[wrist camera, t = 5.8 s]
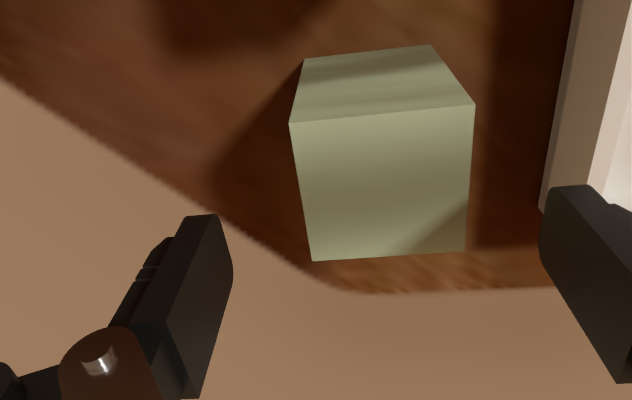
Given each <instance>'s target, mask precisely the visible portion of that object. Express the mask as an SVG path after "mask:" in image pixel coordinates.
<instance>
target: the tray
mask: <svg viewBox="0 0 632 400" xmlns="http://www.w3.org/2000/svg"><path fill="white" fill-rule="evenodd" d="M583 184H588V185H590V186H592V187H593V188H594V189H595V190H596V191H597V192H598V193H599V194H600V195H601V196H602V197H603V198H604V199H605V200H606V201H607V202H608V203H609V204H617V205H619V206H621V207H623V208H625V209H627V210H629V211H631V212H632V0H575V1H574V7H573V13H572V18H571V24H570V29H569V35H568V40H567V46H566V52H565V57H564V63H563V68H562V74H561V79H560V85H559V90H558V96H557V102H556V107H555V113H554V118H553V124H552V129H551V135H550V141H549V146H548V152H547V157H546V163H545V168H544V174H543V180H542V185H541V191H540V196H539V202H538V208H539V209H540V211H541V212H542V213H543V214H544V208H545V203H546V198H547V194H548V191H549V190H550V189H551V188H552V187H559V186H571V185H583Z"/></svg>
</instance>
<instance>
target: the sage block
mask: <svg viewBox="0 0 632 400" xmlns="http://www.w3.org/2000/svg"><path fill="white" fill-rule="evenodd" d="M474 116H475V103H474V102H473V100H472V99H471V98H470V96H469V95H468V94H467V92H466V91H465V90H464V88H463V87H462V86H461V84H460V83H459V82H458V80H457V79H456V78H455V76H454V75H453V74H452V72H451V71H450V70H449V68H448V67H447V66H446V64H445V63H444V62H443V60H442V59H441V58H440V56H439V55H438V54H437V52H436V51H435V50H434V48H433V47H432V46H431V44H427V45H419V46H410V47H402V48H393V49H384V50H376V51H367V52H359V53H350V54H342V55H333V56H325V57H316V58H308V59H304V63H303V67H302V71H301V75H300V79H299V83H298V87H297V91H296V95H295V99H294V103H293V107H292V111H291V115H290V119H289V129H290V135H291V141H292V147H293V153H294V158H295V164H296V170H297V176H298V182H299V188H300V193H301V199H302V205H303V211H304V217H305V223H306V229H307V234H308V240H309V246H310V252H311V258H312V261H324V260H339V259H354V258H368V257H383V256H398V255H413V254H428V253H443V252H458V251H464V248H465V235H466V222H467V209H468V195H469V182H470V169H471V156H472V142H473V129H474Z"/></svg>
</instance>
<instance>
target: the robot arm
mask: <svg viewBox="0 0 632 400" xmlns="http://www.w3.org/2000/svg"><path fill="white" fill-rule="evenodd" d="M538 248H539V255H540V259H541V262H542V264H543V266H544V268H545V270H546V271H547V273H548V274H549V276H550V278H551V279H552V281H553V282H554V284H555V286H556V287H557V289H558V290H559V292H560V294H561V295H562V297H563V299H564V300H565V302H566V303H567V305H568V307H569V308H570V310H571V311H572V313H573V315H574V316H575V318H576V319H577V321H578V322H579V324H580V326H581V328H582V329H583V331H584V332H585V334H586V336H587V337H588V339H589V340H590V342H591V344H592V345H593V347H594V348H595V350H596V352H597V353H598V355H599V357H600V358H601V360H602V361H603V363H604V365H605V366H606V368H607V369H608V371H609V373H610V374H611V376H612V378H613V379H614V381H615V382H616V384H623V383H632V212H631V211H629V210H627V209H625V208H623V207H621V206H619V205H617V204H609V203H608V202H607V201H606V200H605V199H604V198H603V197H602V196H601V195H600V194H599V193H598V192H597V191H596V190H595V189H594V188H593V187H592V186H590V185H588V184H583V185H571V186H559V187H552V188H551V189H550V190H549V191H548V194H547V198H546V203H545V208H544V214H543V219H542V225H541V230H540V235H539V242H538ZM232 283H233V265H232V260H231V257H230V253H229V250H228V246H227V243H226V239H225V236H224V232H223V229H222V225H221V222H220V219H219V217H218V216H217V215H216V214H208V215H196V216H186V217H185V218H184V219H183V221H182V223H181V225H180V227H179V229H178V231H177V232H176V235H175V236H174V237H167V238H165V239H164V240H163V241H162V242H161V243H160V244H159V245H157V246H156V247H155V248H154V249H153V250H152V251H151V252H150V254H149V256H148V258H147V259H146V261H145V263H144V264H143V269H141V270H140V272H139V273H138V275H137V277H136V281H135V282H133V284H132V285H131V287H130V289H129V290H128V292H127V294H126V296H125V298H124V299H123V301H122V303H121V305H120V306H119V308H118V310H117V311H116V313H115V315H114V316H113V318H112V320H111V322H110V323H109V325H108V327H107V328H103V329H100V330H97V331H95V332H93V333H91V334H89V335H87V336H85V337H84V338H82V339H81V340H80V341H78V342H77V343H76V344H75V345H73V346H72V347H71V349H69V350H68V352H67V353H66V354H65V356H64V357H63V359H62V360H61V362H60V364H59V365H56V366H52V367H49V368H46V369H43V370H40V371H36V372H33V373H30V374H27V375H24V376H21V377H17V376H16V375H15V373H14V372H13V371H12V369H11V368H10V367H9V366H8V365H7V364H5V363H2V362H0V400H180V399H198V398H199V397H200V393H201V390H202V386H203V383H204V380H205V376H206V373H207V369H208V366H209V362H210V359H211V355H212V352H213V349H214V345H215V342H216V339H217V335H218V332H219V328H220V325H221V321H222V318H223V315H224V311H225V308H226V304H227V301H228V298H229V294H230V291H231V287H232Z"/></svg>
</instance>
